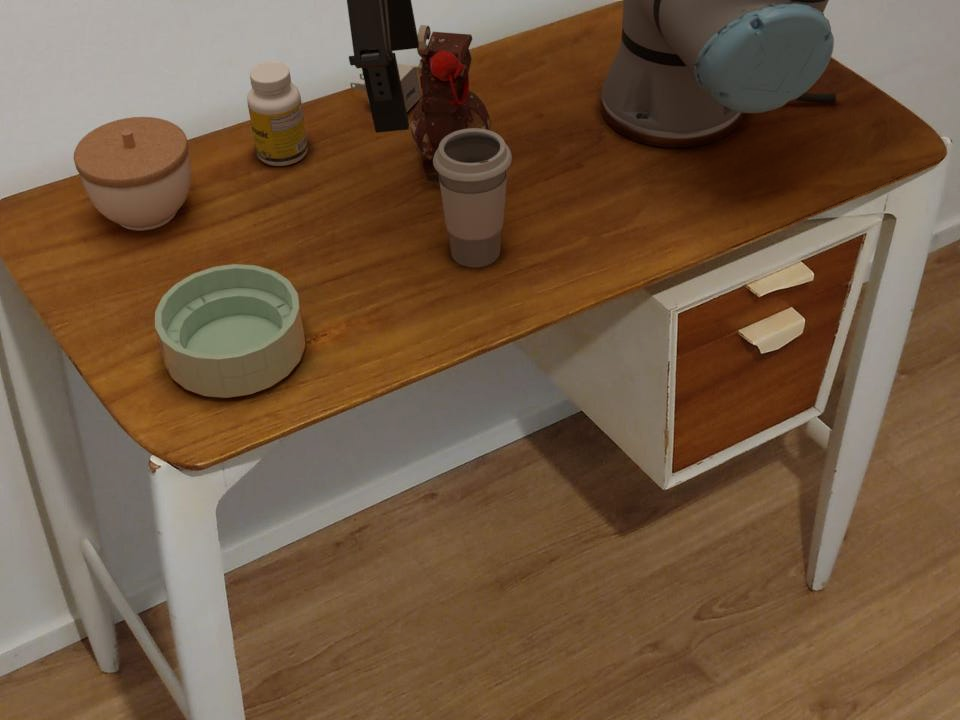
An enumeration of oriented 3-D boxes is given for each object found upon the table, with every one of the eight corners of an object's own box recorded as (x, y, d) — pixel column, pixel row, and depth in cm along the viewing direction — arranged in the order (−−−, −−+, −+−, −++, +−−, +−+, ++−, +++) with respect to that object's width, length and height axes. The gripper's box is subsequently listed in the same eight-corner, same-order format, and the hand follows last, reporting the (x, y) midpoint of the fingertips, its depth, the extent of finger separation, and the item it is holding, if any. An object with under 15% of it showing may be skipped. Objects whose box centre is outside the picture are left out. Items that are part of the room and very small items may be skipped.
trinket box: (177, 251, 125) (158, 170, 118) (73, 239, 127) (49, 158, 120) (216, 186, 132) (200, 106, 126) (117, 175, 134) (97, 97, 128)
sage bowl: (300, 298, 119) (293, 256, 116) (311, 390, 110) (304, 347, 107) (165, 316, 118) (155, 273, 114) (165, 411, 109) (154, 367, 106)
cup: (454, 283, 120) (449, 176, 112) (427, 242, 125) (420, 136, 117) (524, 262, 122) (524, 155, 114) (495, 223, 127) (493, 118, 119)
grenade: (479, 194, 130) (475, 61, 120) (401, 185, 132) (390, 54, 121) (498, 141, 137) (496, 11, 127) (423, 134, 138) (415, 5, 128)
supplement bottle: (250, 146, 137) (236, 64, 131) (299, 133, 139) (287, 52, 132) (264, 173, 134) (251, 90, 127) (315, 160, 135) (304, 77, 129)
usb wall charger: (416, 64, 140) (421, 96, 143) (361, 55, 143) (367, 88, 146) (398, 81, 138) (404, 114, 140) (343, 73, 141) (349, 105, 143)
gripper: (318, -215, 107) (368, 22, 120) (275, -92, 88) (339, 172, 102) (408, -227, 106) (448, 13, 120) (384, -105, 87) (434, 162, 101)
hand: (398, 86), depth 111 cm, fingers open, 13 cm apart
